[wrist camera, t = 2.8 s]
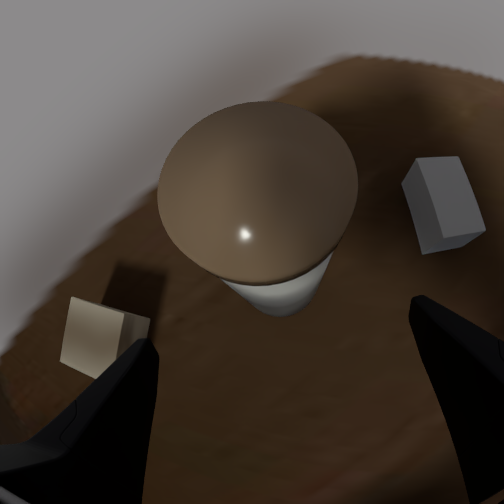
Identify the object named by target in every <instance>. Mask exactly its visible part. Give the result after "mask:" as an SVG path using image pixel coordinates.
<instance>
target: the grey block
mask: <svg viewBox="0 0 504 504" xmlns="http://www.w3.org/2000/svg"><path fill="white" fill-rule="evenodd" d="M402 187H403V190H404V193H405V196H406V199H407V203H408V206H409V209H410V212H411V215H412V219H413V222H414V226H415V229H416V233H417V237H418V240H419V244H420V248H421V252H422V255H423V254H428V253H433V252H438V251H444V250H449V249H454V248H459V247H463V246H464V245H466V244H467V243H469V242H470V241H472V240H473V239H475V238H476V237H477V236H479V235H480V234H482V233H483V232H485V231H486V228H485V225H484V222H483V219H482V216H481V213H480V210H479V207H478V204H477V201H476V199H475V196H474V193H473V191H472V188H471V185H470V183H469V180H468V178H467V175H466V173H465V171H464V168H463V166H462V164H461V161H460V159H459V157H458V156H451V157H428V158H416V159H415V161H414V163H413V165H412V166H411V168H410V170H409V172H408V173H407V175H406V177H405V178H404V180H403V182H402Z"/></svg>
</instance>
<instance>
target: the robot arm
mask: <svg viewBox="0 0 504 504" xmlns="http://www.w3.org/2000/svg"><path fill="white" fill-rule="evenodd" d="M409 323H410V326H411V329H412V332H413V335H414V338H415V341H416V344H417V347H418V350H419V353H420V356H421V359H422V362H423V364H424V367H425V369H426V371H427V374H428V376H429V378H430V381H431V383H432V386H433V388H434V391H435V393H436V396H437V399H438V401H439V404H440V406H441V409H442V412H443V415H444V417H445V420H446V423H447V426H448V429H449V432H450V435H451V438H452V441H453V444H454V447H455V450H456V453H457V456H458V460H459V464H460V467H461V471H462V474H463V478H464V482H465V485H466V489H467V493H468V497H469V502H470V504H479V503H481V502H483V501H485V500H486V499H488V498H490V497H492V496H493V495H495V494H497V493H498V492H500V491H501V490H503V489H504V342H503V341H502V340H500V339H498V338H497V337H495V336H493V335H492V334H490V333H488V332H487V331H485V330H483V329H482V328H480V327H478V326H477V325H475V324H473V323H472V322H470V321H468V320H467V319H465V318H463V317H461V316H460V315H458V314H456V313H454V312H453V311H451V310H449V309H448V308H446V307H444V306H442V305H441V304H439V303H437V302H435V301H433V300H432V299H430V298H428V297H426V296H424V295H419V296H415V297H413V298H412V299H411V304H410V310H409ZM158 370H159V355H158V352H157V351H156V349H155V347H154V345H153V343H152V341H151V340H150V339H149V338H139V339H137V340H136V341H135V342H134V343H133V344H132V345H131V346H130V347H129V348H128V349H127V350H126V351H125V352H123V353H122V354H121V355H120V356H119V357H118V358H117V359H116V360H115V361H114V362H113V363H112V364H111V365H110V366H109V367H108V368H107V369H106V370H105V371H104V372H103V373H102V374H101V375H100V376H99V377H98V378H96V379H95V380H94V381H93V382H92V383H91V384H90V385H89V386H88V387H87V388H86V389H85V390H84V391H83V392H82V393H81V394H80V395H79V396H78V397H77V398H76V400H74V401H73V402H72V403H71V404H70V405H69V406H68V407H67V408H66V409H64V410H63V411H62V412H61V413H60V414H59V415H58V416H57V417H56V418H54V419H53V420H52V421H51V422H50V423H48V424H47V425H46V426H45V427H44V428H42V429H41V430H40V431H39V432H38V433H36V434H35V435H34V436H33V437H31V438H30V439H29V440H27V441H25V442H22V443H19V444H10V445H0V504H142V494H143V485H144V477H145V469H146V461H147V454H148V447H149V440H150V434H151V427H152V421H153V415H154V409H155V403H156V397H157V384H158ZM498 504H504V500H502V501H501V502H499V503H498Z"/></svg>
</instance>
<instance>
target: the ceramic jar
mask: <svg viewBox="0 0 504 504" xmlns="http://www.w3.org/2000/svg"><path fill="white" fill-rule="evenodd" d="M357 193H358V174H357V169H356V164H355V161H354V158H353V156H352V153H351V151H350V149H349V147H348V146H347V144H346V142H345V141H344V140H343V138H342V137H341V135H340V134H339V133H338V132H337V131H336V130H335V129H334V128H333V127H332V126H331V125H330V124H328V123H327V122H326V121H325V120H323V119H322V118H320V117H319V116H317V115H315V114H314V113H312V112H309V111H307V110H305V109H303V108H300V107H297V106H294V105H290V104H285V103H279V102H250V103H243V104H238V105H234V106H231V107H227V108H224V109H222V110H220V111H217V112H215V113H213V114H211V115H209V116H207V117H206V118H204V119H203V120H201V121H199V122H198V123H197V124H195V125H194V126H193V127H192V128H190V129H189V130H188V131H187V132H186V133H185V134H184V135H183V136H182V137H181V138H180V139H179V140H178V142H177V143H176V145H175V146H174V147H173V148H172V150H171V152H170V153H169V155H168V157H167V158H166V161H165V163H164V165H163V168H162V171H161V174H160V178H159V184H158V208H159V213H160V217H161V220H162V223H163V225H164V227H165V229H166V231H167V233H168V235H169V236H170V238H171V239H172V241H173V242H174V244H175V245H176V246H177V247H178V248H179V249H180V250H181V251H182V252H183V253H184V254H185V255H186V256H188V257H189V258H190V259H191V260H193V261H194V262H195V263H196V264H198V265H199V266H200V267H202V268H203V269H204V270H206V271H207V272H208V273H210V274H212V275H214V276H216V277H217V278H220V279H221V280H222V281H224V282H225V283H226V284H227V285H228V286H230V287H231V288H232V289H233V290H235V291H236V292H237V293H238V294H239V295H241V296H242V297H243V298H244V299H246V300H247V301H248V302H249V303H251V304H252V305H253V306H254V307H256V308H257V309H258V310H260V311H261V312H263V313H265V314H268V315H271V316H276V317H285V316H290V315H293V314H296V313H298V312H300V311H301V310H303V309H304V308H305V307H306V306H307V305H308V304H309V303H310V302H311V300H312V299H313V297H314V295H315V293H316V291H317V288H318V286H319V284H320V281H321V279H322V277H323V274H324V272H325V270H326V267H327V265H328V263H329V260H330V258H331V256H332V253H333V251H334V250H335V248H336V247H337V245H338V243H339V242H340V240H341V239H342V237H343V234H344V232H345V230H346V228H347V226H348V223H349V221H350V218H351V216H352V214H353V211H354V208H355V204H356V200H357Z"/></svg>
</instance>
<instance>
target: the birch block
mask: <svg viewBox="0 0 504 504" xmlns="http://www.w3.org/2000/svg"><path fill="white" fill-rule="evenodd" d="M149 324H150V318H146V317H143V316H139V315H136V314H132V313H129V312H125V311H122V310H118V309H115V308H112V307H108V306H105V305H102V304H98V303H94V302H90V301H86V300H83V299H79V298H75V297H71V302H70V307H69V312H68V317H67V322H66V327H65V333H64V339H63V345H62V352H61V359H60V362H62V363H64V364H66V365H68V366H70V367H72V368H74V369H76V370H78V371H80V372H82V373H84V374H87V375H89V376H91V377H93V378H95V379H96V378H98V377H99V376H100V375H101V374H102V373H103V372H104V371H105V370H106V369H107V368H108V367H109V366H110V365H111V364H112V363H113V362H114V361H115V360H116V359H117V358H118V357H119V356H120V355H121V354H122V353H123V352H125V351H126V350H127V349H128V348H129V347H130V346H131V345H132V344H133V343H134V342H135V341H136V340H137V339H139V338H147V334H148V329H149Z"/></svg>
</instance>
